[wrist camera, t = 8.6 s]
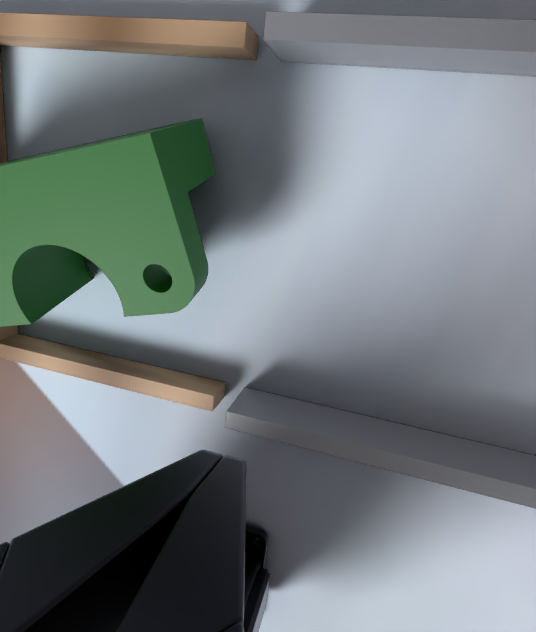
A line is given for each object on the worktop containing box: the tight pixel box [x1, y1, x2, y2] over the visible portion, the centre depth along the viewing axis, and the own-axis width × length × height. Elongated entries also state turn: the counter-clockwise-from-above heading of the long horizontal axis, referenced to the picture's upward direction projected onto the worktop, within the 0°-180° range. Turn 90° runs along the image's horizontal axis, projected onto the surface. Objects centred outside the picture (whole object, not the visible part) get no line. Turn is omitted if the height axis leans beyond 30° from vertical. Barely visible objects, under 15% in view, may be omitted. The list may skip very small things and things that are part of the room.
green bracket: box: [0, 118, 216, 327], centre depth 18 cm, size 12×6×9 cm, turn 93°
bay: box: [0, 13, 258, 411], centre depth 19 cm, size 13×16×2 cm
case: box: [225, 11, 536, 508], centre depth 16 cm, size 14×16×2 cm
